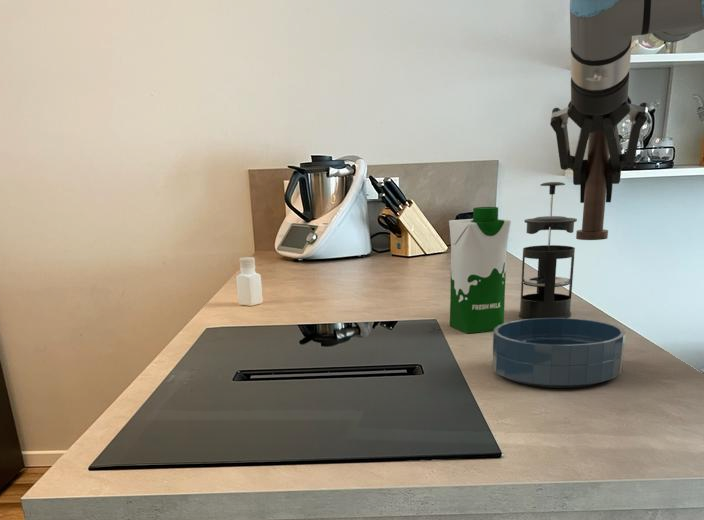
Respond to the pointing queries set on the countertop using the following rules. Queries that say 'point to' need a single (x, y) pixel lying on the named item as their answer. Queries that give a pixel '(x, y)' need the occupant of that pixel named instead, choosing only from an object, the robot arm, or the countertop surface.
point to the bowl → (558, 351)
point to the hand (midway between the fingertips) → (596, 195)
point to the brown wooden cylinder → (595, 189)
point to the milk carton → (478, 271)
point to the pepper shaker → (249, 283)
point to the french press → (547, 268)
